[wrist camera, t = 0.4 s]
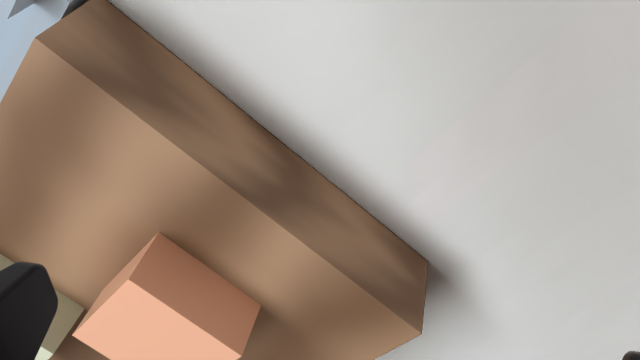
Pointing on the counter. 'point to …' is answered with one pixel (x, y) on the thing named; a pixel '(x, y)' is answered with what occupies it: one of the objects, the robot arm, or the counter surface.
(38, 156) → the wood-grain brown block
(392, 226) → the counter surface
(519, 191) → the counter surface
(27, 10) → the box
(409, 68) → the counter surface
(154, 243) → the terracotta tile
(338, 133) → the counter surface
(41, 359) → the sage tile
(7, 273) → the robot arm
